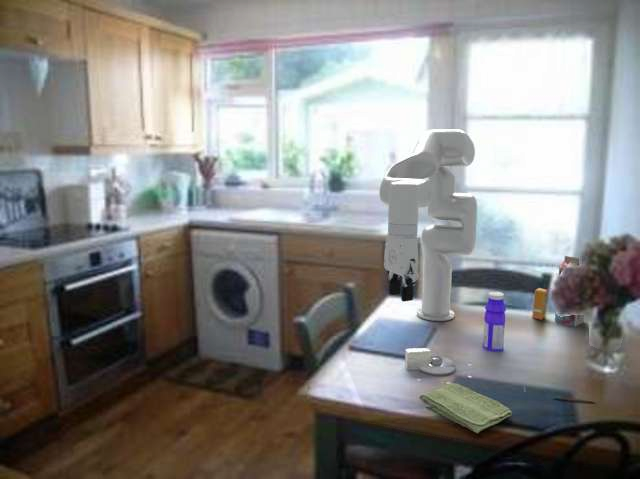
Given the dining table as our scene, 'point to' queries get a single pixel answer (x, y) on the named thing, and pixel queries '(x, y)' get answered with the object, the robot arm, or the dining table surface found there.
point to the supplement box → (539, 303)
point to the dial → (428, 362)
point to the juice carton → (572, 319)
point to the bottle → (494, 322)
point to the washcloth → (466, 407)
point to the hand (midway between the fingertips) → (400, 296)
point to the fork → (571, 399)
